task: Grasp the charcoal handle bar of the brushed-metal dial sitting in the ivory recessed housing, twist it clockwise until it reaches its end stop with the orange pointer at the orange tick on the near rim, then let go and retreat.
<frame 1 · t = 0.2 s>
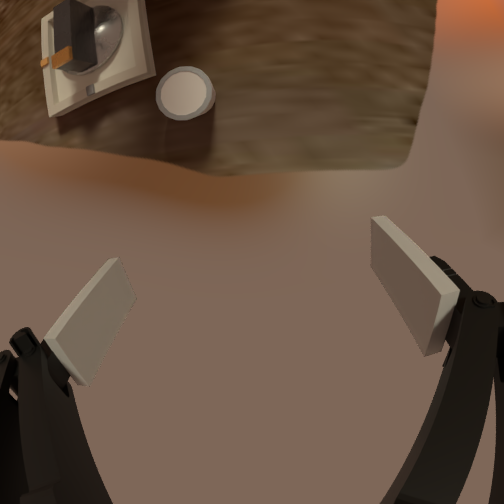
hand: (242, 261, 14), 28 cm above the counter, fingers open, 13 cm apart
dial: (74, 35, 23), point 6 cm above the counter, hinge at 0.0°
housing: (96, 42, 29), on the counter
shot glass: (196, 97, 34), on the counter
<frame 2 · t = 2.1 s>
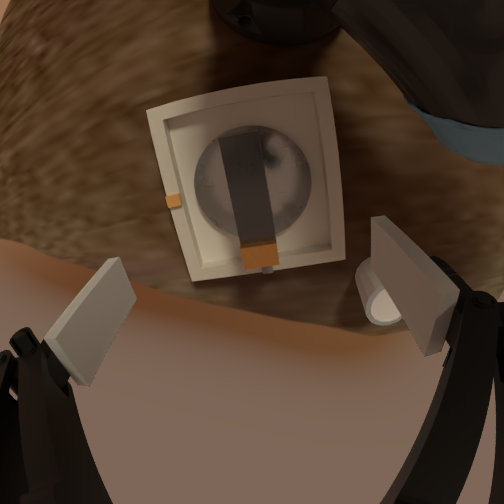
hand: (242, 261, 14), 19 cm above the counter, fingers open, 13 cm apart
dial: (251, 192, 25), point 6 cm above the counter, hinge at 0.0°
housing: (253, 177, 31), on the counter
shot glass: (373, 272, 36), on the counter
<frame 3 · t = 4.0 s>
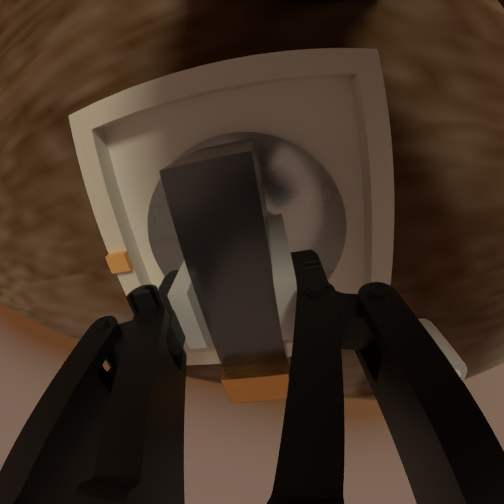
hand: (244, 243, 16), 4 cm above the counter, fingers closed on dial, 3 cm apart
dial: (242, 264, 14), point 6 cm above the counter, hinge at 0.0°, touching gripper
housing: (247, 218, 19), on the counter
shot glass: (409, 338, 25), on the counter
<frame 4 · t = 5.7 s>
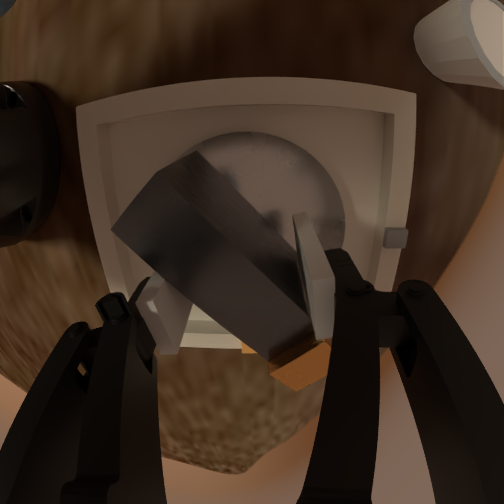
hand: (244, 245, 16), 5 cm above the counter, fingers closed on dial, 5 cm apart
dial: (243, 260, 14), point 6 cm above the counter, hinge at -48.6°, touching gripper
housing: (247, 217, 20), on the counter
shot glass: (441, 49, 13), on the counter
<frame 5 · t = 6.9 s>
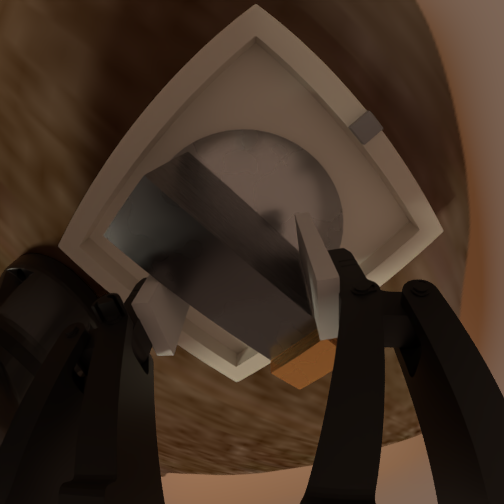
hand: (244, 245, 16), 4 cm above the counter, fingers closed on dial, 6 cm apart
dial: (239, 259, 14), point 6 cm above the counter, hinge at -88.5°, touching gripper
housing: (245, 215, 19), on the counter
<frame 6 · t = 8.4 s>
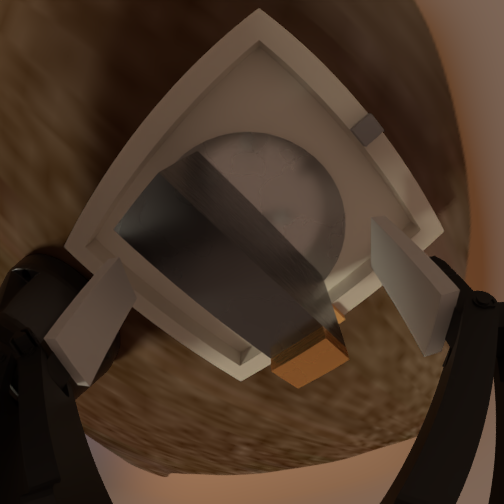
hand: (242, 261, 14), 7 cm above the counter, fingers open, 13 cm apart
dial: (244, 259, 14), point 6 cm above the counter, hinge at -91.4°
housing: (249, 216, 20), on the counter
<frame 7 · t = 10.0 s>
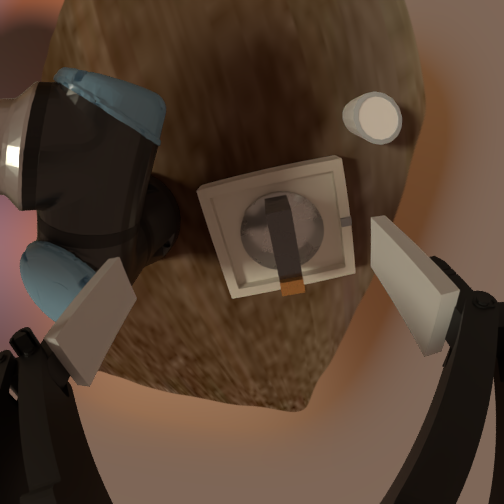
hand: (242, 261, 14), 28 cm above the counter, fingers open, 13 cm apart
dial: (284, 242, 37), point 6 cm above the counter, hinge at -91.4°
housing: (281, 225, 43), on the counter
shot glass: (359, 117, 35), on the counter
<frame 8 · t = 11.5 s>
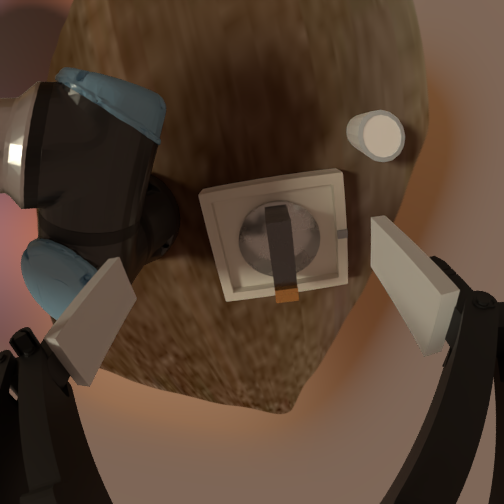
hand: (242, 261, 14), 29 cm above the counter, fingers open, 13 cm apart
dial: (281, 251, 38), point 6 cm above the counter, hinge at -91.4°
housing: (278, 233, 44), on the counter
shot glass: (363, 132, 37), on the counter
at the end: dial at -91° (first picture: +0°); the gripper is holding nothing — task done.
